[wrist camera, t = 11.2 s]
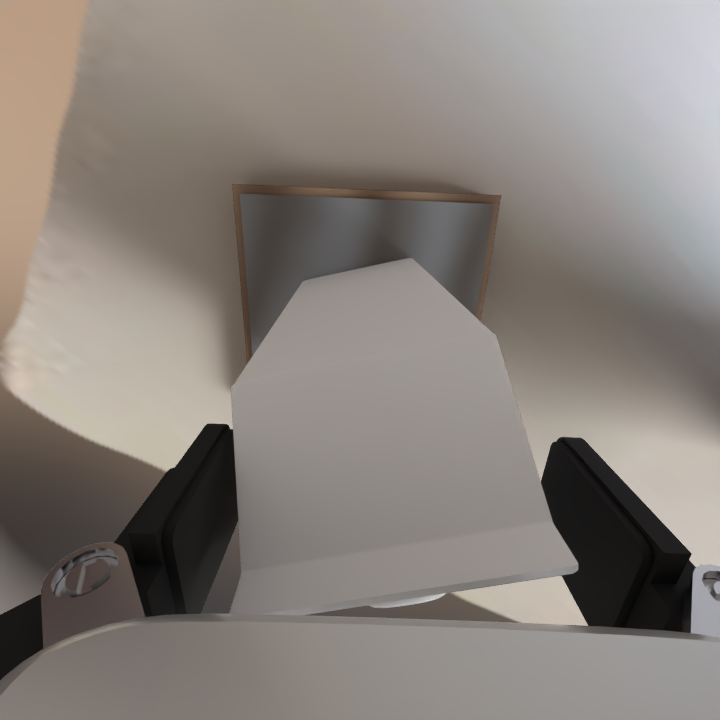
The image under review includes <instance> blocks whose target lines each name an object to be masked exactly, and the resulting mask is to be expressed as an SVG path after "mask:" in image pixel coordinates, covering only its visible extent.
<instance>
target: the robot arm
mask: <svg viewBox="0 0 720 720" xmlns="http://www.w3.org/2000/svg"><path fill="white" fill-rule="evenodd" d="M541 485H542V488H543V491H544V494H545V498H546V501H547V504H548V508H549V511H550V514H551V517H552V521H553V523H554V525H555V527H556V528H557V530H558V532H559V533H560V535H561V536H562V538H563V540H564V541H565V543H566V544H567V546H568V548H569V549H570V551H571V552H572V554H573V556H574V557H575V559H576V560H577V562H578V571H576V572H575V573H573V574H568V575H562V577H563V579H564V581H565V583H566V585H567V587H568V588H569V590H570V592H571V594H572V596H573V598H574V600H575V601H576V603H577V605H578V607H579V609H580V611H581V613H582V615H583V616H584V618H585V620H586V622H587V624H588V626H577V625H553V624H530V623H506V622H481V621H480V622H479V621H453V620H427V619H426V620H425V619H398V618H370V617H338V616H337V617H336V616H304V615H272V614H201V611H202V609H203V606H204V604H205V601H206V599H207V596H208V594H209V592H210V589H211V587H212V584H213V582H214V579H215V577H216V574H217V571H218V569H219V567H220V564H221V562H222V559H223V557H224V554H225V552H226V549H227V547H228V544H229V542H230V539H231V536H232V534H233V532H234V529H235V527H236V525H237V522H238V507H237V489H236V472H235V454H234V437H233V429H230V428H229V425H227V424H207V425H206V426H205V427H204V428H203V430H202V431H201V433H200V434H199V435H198V437H197V438H196V439H195V441H194V442H193V444H192V445H191V446H190V448H189V449H188V450H187V452H186V453H185V455H184V456H183V457H182V459H181V460H180V461H179V463H178V464H177V466H176V467H175V468H172V469H170V470H169V471H168V472H167V473H166V474H165V475H164V477H163V478H162V479H161V480H160V482H159V483H158V485H157V486H156V487H155V489H154V490H153V491H152V493H151V494H150V495H149V497H148V498H147V499H146V501H145V502H144V503H143V505H142V506H141V507H140V509H139V510H138V511H137V513H136V514H135V515H134V517H133V518H132V519H131V521H130V522H129V523H128V525H127V526H126V527H125V529H124V530H123V532H122V533H121V534H120V535H119V537H118V538H117V540H116V541H115V542H114V543H109V542H104V543H96V544H92V545H89V546H86V547H83V548H81V549H79V550H77V551H75V552H73V553H71V554H69V555H68V556H67V557H65V558H64V559H63V560H61V561H60V562H58V563H57V564H56V565H55V567H53V569H52V570H51V571H50V572H49V573H48V574H47V576H46V578H45V580H44V581H43V584H42V588H41V594H40V595H38V596H36V597H34V598H32V599H30V600H29V601H27V602H25V603H23V604H21V605H19V606H17V607H15V608H13V609H11V610H9V611H7V612H5V613H3V614H1V615H0V720H720V566H715V565H700V566H698V567H695V566H694V565H693V564H692V563H691V562H690V561H689V558H690V556H691V553H690V552H689V550H688V549H687V548H686V547H685V546H684V545H683V544H682V543H681V542H680V541H679V540H678V539H677V538H676V537H675V536H674V535H673V534H672V532H671V531H670V530H669V529H668V528H667V527H666V526H665V525H664V524H663V523H662V522H661V521H660V520H659V519H658V518H657V517H656V515H655V514H654V513H653V512H652V511H651V510H650V509H649V508H648V507H647V506H646V505H645V504H644V503H643V502H642V501H641V500H640V499H639V497H638V496H637V495H636V494H635V493H634V492H633V491H632V490H631V489H630V488H629V487H628V486H627V485H626V484H625V483H624V482H623V480H622V479H621V478H620V477H619V476H618V475H617V474H616V473H615V472H614V471H613V470H612V469H611V468H610V467H609V466H608V465H607V464H606V462H605V461H604V460H603V459H602V458H601V457H600V456H599V455H598V454H597V453H596V452H595V451H594V450H593V449H592V448H591V447H590V446H589V444H588V443H587V442H586V441H585V440H583V439H582V438H570V437H561V438H559V439H558V440H557V442H553V443H552V445H551V447H550V451H549V455H548V458H547V462H546V466H545V469H544V473H543V477H542V480H541Z"/></svg>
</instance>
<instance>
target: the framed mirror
mask: <svg viewBox="0 0 720 720" xmlns="http://www.w3.org/2000/svg"><path fill="white" fill-rule="evenodd" d="M232 185H233V197H234V209H235V221H236V233H237V245H238V257H239V269H240V281H241V293H242V305H243V317H244V329H245V341H246V353H247V364H248V362H249V361H250V359H251V358H252V356H253V355H254V353H255V352H256V350H257V349H258V347H259V346H260V344H261V343H262V341H263V340H264V338H265V337H266V335H267V334H268V332H269V331H270V329H271V328H272V326H273V325H274V323H275V322H276V320H277V319H278V318H279V316H280V315H281V313H282V312H283V310H284V309H285V307H286V306H287V304H288V303H289V301H290V300H291V298H292V297H293V295H294V294H295V292H296V291H297V289H298V288H299V286H300V285H301V283H302V282H303V281H305V280H308V279H313V278H317V277H322V276H327V275H331V274H336V273H340V272H345V271H350V270H354V269H359V268H364V267H368V266H373V265H378V264H382V263H387V262H392V261H396V260H401V259H406V258H412V259H414V260H415V261H416V262H417V263H418V264H419V265H420V266H421V267H422V268H424V269H425V270H426V271H427V272H428V273H429V274H430V275H431V276H432V277H433V278H434V279H435V280H436V281H437V282H439V283H440V284H441V285H442V286H443V287H444V288H445V289H446V290H447V291H448V292H449V293H450V294H451V295H452V296H454V297H455V298H456V299H457V300H458V301H459V302H460V303H461V304H462V305H463V306H464V307H465V308H466V309H467V310H469V311H470V312H471V313H472V314H473V315H474V316H475V317H476V318H477V319H478V320H479V321H480V319H481V313H482V307H483V301H484V295H485V289H486V283H487V277H488V271H489V265H490V259H491V253H492V247H493V241H494V235H495V229H496V223H497V217H498V211H499V205H500V199H501V195H478V194H454V193H431V192H407V191H383V190H359V189H336V188H312V187H288V186H265V185H241V184H232Z"/></svg>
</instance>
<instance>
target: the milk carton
mask: <svg viewBox="0 0 720 720" xmlns="http://www.w3.org/2000/svg"><path fill="white" fill-rule="evenodd" d="M231 402H232V419H233V437H234V454H235V472H236V489H237V507H238V524H239V541H240V558H241V576H240V579H239V583H238V586H237V589H236V593H235V596H234V599H233V602H232V605H231V609H230V612H229V614H272V615H307V614H313V613H320V612H326V611H333V610H340V609H346V608H353V607H359V606H365V605H370V606H371V607H376V608H388V607H397V606H405V605H411V604H416V603H422V602H426V601H431V600H435V599H438V598H440V597H442V596H443V595H444V594H445V593H450V592H457V591H463V590H470V589H476V588H483V587H489V586H496V585H502V584H509V583H515V582H522V581H528V580H535V579H541V578H548V577H554V576H561V575H568V574H573V573H575V572H576V571H578V562H577V560H576V559H575V557H574V556H573V554H572V552H571V551H570V549H569V548H568V546H567V544H566V543H565V541H564V540H563V538H562V536H561V535H560V533H559V532H558V530H557V528H556V527H555V525H554V523H553V521H552V517H551V514H550V511H549V508H548V504H547V501H546V498H545V494H544V491H543V488H542V485H541V481H540V478H539V475H538V472H537V468H536V465H535V462H534V458H533V455H532V452H531V449H530V445H529V442H528V439H527V435H526V432H525V429H524V426H523V422H522V419H521V416H520V412H519V409H518V406H517V403H516V399H515V396H514V393H513V389H512V386H511V383H510V380H509V376H508V373H507V370H506V366H505V363H504V360H503V357H502V353H501V350H500V347H499V343H498V340H497V337H496V335H495V334H493V333H492V332H491V331H490V330H489V329H488V328H487V327H486V326H485V325H484V324H482V323H481V322H480V321H479V320H478V319H477V318H476V317H475V316H474V315H473V314H472V313H471V312H470V311H469V310H467V309H466V308H465V307H464V306H463V305H462V304H461V303H460V302H459V301H458V300H457V299H456V298H455V297H454V296H452V295H451V294H450V293H449V292H448V291H447V290H446V289H445V288H444V287H443V286H442V285H441V284H440V283H439V282H437V281H436V280H435V279H434V278H433V277H432V276H431V275H430V274H429V273H428V272H427V271H426V270H425V269H424V268H422V267H421V266H420V265H419V264H418V263H417V262H416V261H415V260H414V259H412V258H406V259H401V260H396V261H392V262H387V263H382V264H378V265H373V266H368V267H364V268H359V269H354V270H350V271H345V272H340V273H336V274H331V275H327V276H322V277H317V278H313V279H308V280H305V281H303V282H302V283H301V285H300V286H299V288H298V289H297V291H296V292H295V294H294V295H293V297H292V298H291V300H290V301H289V303H288V304H287V306H286V307H285V309H284V310H283V312H282V313H281V315H280V316H279V318H278V319H277V320H276V322H275V323H274V325H273V326H272V328H271V329H270V331H269V332H268V334H267V335H266V337H265V338H264V340H263V341H262V343H261V344H260V346H259V347H258V349H257V350H256V352H255V353H254V355H253V356H252V358H251V359H250V361H249V362H248V364H247V365H246V367H245V368H244V370H243V371H242V373H241V374H240V376H239V377H238V379H237V380H236V382H235V383H234V384H233V385H232V386H231Z"/></svg>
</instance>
